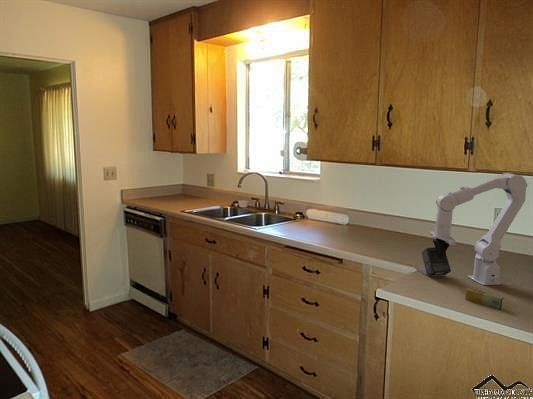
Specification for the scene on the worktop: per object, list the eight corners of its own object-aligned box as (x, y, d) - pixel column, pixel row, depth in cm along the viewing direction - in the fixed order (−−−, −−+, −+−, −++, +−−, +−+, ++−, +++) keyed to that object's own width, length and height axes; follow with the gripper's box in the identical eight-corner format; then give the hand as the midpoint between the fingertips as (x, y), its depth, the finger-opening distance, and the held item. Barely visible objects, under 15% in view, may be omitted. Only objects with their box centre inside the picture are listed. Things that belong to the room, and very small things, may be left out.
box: (444, 275, 173) (438, 251, 178) (451, 271, 168) (444, 246, 173) (426, 276, 172) (420, 251, 177) (433, 272, 167) (427, 247, 172)
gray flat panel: (443, 274, 174) (443, 273, 174) (425, 275, 172) (425, 274, 172) (431, 267, 183) (431, 266, 182) (414, 268, 181) (414, 266, 181)
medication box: (503, 308, 143) (505, 297, 142) (501, 310, 141) (502, 299, 140) (467, 298, 151) (468, 287, 150) (464, 299, 149) (465, 289, 149)
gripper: (424, 220, 173) (421, 252, 176) (445, 229, 159) (441, 263, 161) (440, 220, 174) (436, 251, 177) (461, 229, 160) (457, 263, 163)
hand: (440, 257), depth 169 cm, fingers closed
